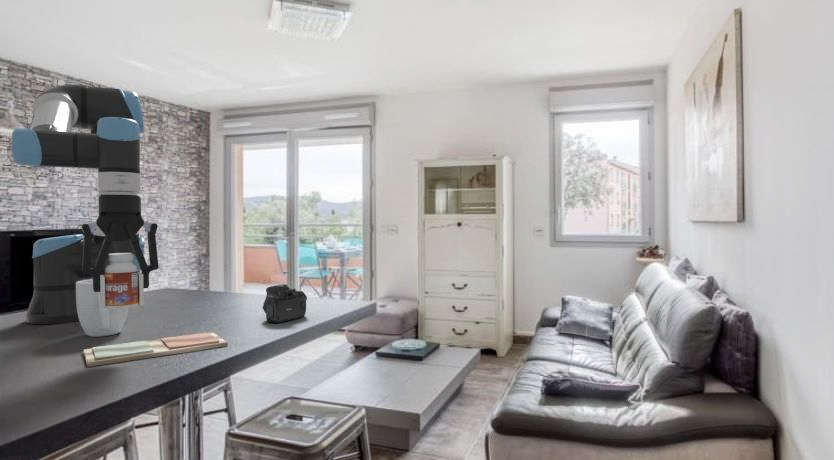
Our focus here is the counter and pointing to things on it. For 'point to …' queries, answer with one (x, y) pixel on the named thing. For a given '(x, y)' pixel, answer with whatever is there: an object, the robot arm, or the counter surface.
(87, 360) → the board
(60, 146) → the robot arm
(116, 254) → the pill bottle
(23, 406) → the counter surface
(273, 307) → the camera
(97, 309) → the mug
